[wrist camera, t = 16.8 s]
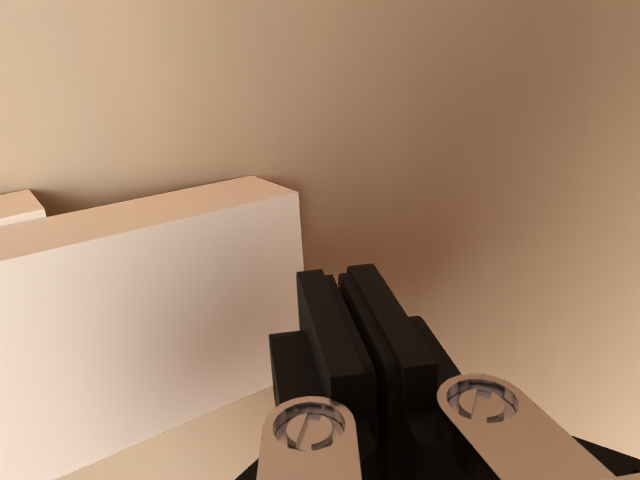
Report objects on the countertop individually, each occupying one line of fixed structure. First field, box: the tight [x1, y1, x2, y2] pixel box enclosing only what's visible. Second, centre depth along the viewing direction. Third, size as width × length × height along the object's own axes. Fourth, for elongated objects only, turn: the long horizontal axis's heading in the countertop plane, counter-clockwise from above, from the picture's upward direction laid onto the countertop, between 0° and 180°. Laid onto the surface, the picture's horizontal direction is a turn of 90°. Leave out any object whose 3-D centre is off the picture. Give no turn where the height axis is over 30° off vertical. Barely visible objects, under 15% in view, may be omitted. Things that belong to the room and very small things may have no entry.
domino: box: [0, 175, 304, 480], centre depth 13 cm, size 2×5×10 cm
